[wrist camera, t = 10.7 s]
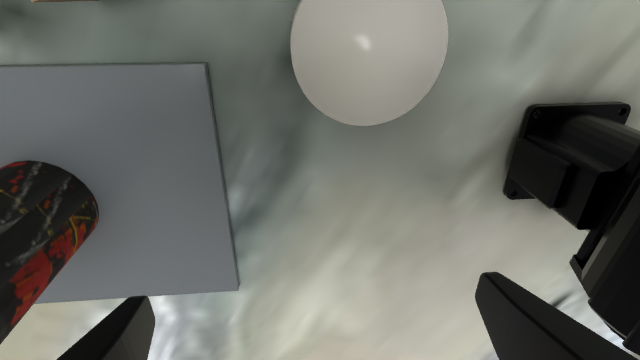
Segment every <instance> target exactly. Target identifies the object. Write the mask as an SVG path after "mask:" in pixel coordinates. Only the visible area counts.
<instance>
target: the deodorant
mask: <svg viewBox="0 0 640 360" xmlns="http://www.w3.org/2000/svg"><path fill="white" fill-rule="evenodd" d="M98 218H99V210H98V204H97V202H96V200H95V198H94V195H93V194H92V192H91V191H90V190H89V189H88V187H87V186H86V185H85V184H84V183H83V182H82V181H81V180H79V179H78V178H77V177H76V176H75V175H73V174H72V173H70V172H68V171H66V170H64V169H62V168H61V167H58V166H55V165H52V164H49V163H46V162H40V161H31V160H27V161H17V162H13V163H11V164H8V165H5V166H3V167H1V168H0V344H1V343H2V342H3V340H4V339H5V338H6V337H7V336H8V334H9V333H10V332H11V331H12V329H13V328H14V327H15V326H16V325H17V323H18V322H19V321H20V320H21V318H22V317H23V316H24V315H25V314H26V312H27V311H28V310H29V309H30V307H31V306H32V305H33V304H34V303H35V301H36V300H37V299H38V298H39V296H40V295H41V294H42V293H43V292H44V290H45V289H46V288H47V287H48V285H49V284H50V283H51V282H52V281H53V279H54V278H55V277H56V276H57V274H58V273H59V272H60V271H61V270H62V268H63V267H64V266H65V265H66V263H67V262H68V261H69V260H70V259H71V257H72V256H73V255H74V254H75V252H76V251H77V250H78V249H79V248H80V246H81V245H82V244H83V243H84V241H85V240H86V239H87V238H88V237H89V235H90V234H91V233H92V231H93V230H94V229H95V227H96V226H97V223H98Z"/></svg>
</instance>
